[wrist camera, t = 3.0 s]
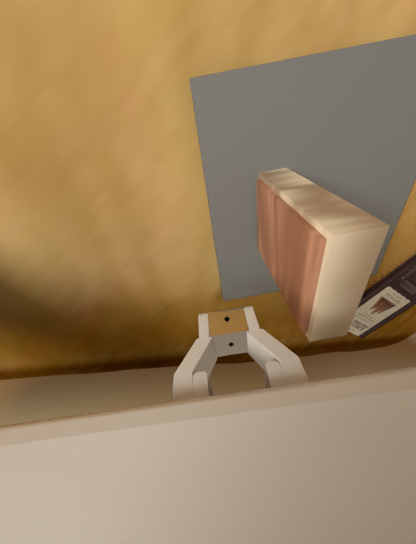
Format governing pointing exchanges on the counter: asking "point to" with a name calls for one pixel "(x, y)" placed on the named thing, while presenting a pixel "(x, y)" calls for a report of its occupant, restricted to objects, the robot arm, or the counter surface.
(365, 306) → the chocolate bar
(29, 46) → the counter surface
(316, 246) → the wooden block
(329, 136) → the mat
